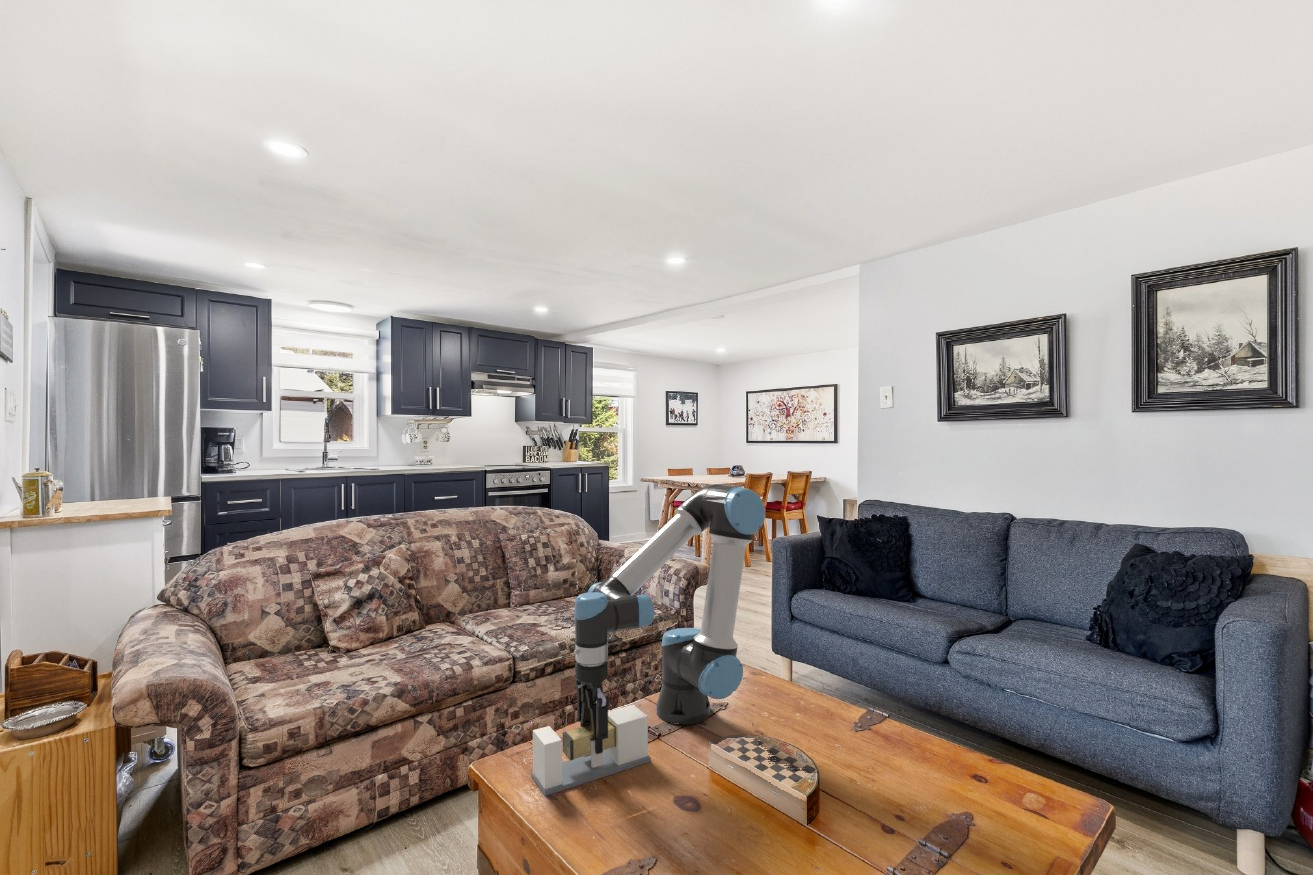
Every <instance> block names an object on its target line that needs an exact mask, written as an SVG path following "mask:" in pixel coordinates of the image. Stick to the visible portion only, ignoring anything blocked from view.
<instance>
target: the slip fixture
mask: <svg viewBox="0 0 1313 875" xmlns="http://www.w3.org/2000/svg"><path fill="white" fill-rule="evenodd" d="M648 717H649V716H648V715H647V714H645V713H644V712H643V711H642V710H641V709H639V708H638V707H637V706H636V705H634V704H632V705H631V704H630V705H627V706H624V707H620V708H616V709H612V710H608V720H609V721H610V722H611V723H612V724H613V725H614V726H615V727H616V747H613V748H609V749H606V750H603V765H600V766H597V767H594V768H592V767H591V756H587V757H584V758H583V757H579V758H576V759H574V760H571V761H570V760H569V759H568V760H566V761H563V739H561V737H560V736H559V735H558V734H557V733H556V732H555V731H554V730H553V728H552V727H551V726H550V725H547V726H544V727H540V728H536V729H533V730H532V771H530V772H531V773H530V777H531V778H532V779H533V781H534V783H535V784H536V786H537V787H538V788H539V790H540V792H541V793H542V794H543V795H544V797H546V796H549V795H554V794H556V793H559V792H561V791H565V790H568V789H571V788H573V787H577V786H580V785H584V784H586V783H589V782H592V781H595V780H598V779H601V778H604V777H609V776H610V775H615V774H617V773H621V772H624V771H626V770H630V769H632V768H635V767H637V766H641V765H645V764H648V763H650V762H652V757H651V756H650V754H649V739H648V738H649V726H648V725H649V724H648V723H649V718H648Z"/></svg>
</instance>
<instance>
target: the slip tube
mask: <svg viewBox="0 0 1313 875" xmlns="http://www.w3.org/2000/svg"><path fill="white" fill-rule="evenodd" d="M591 737H593V734H592V725H589V726H585V727H581V726H580V727H579V728H575V729H571V730H567V731H563V732H562V754H564V755H565V756H566V758H568V761H569V760H570V761H571V760H574V759H576V758H579V757H583V756H586V755H589V754H591V740H590V738H591ZM613 747H616V727H615V726H614V725H613V724H612V723H611V722H610V721H609V720H608V738H606V739H603V750H606V749H609V748H613Z"/></svg>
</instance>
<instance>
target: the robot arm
mask: <svg viewBox="0 0 1313 875" xmlns="http://www.w3.org/2000/svg"><path fill="white" fill-rule="evenodd" d="M674 512H675V513H674V516H672V518H671V519H670V520H668V522H666V523H665V525H663V526H662V527H661V528H660V529H659V530H658V531H657V532H656V533H655V534H654V535H652V537H651V538H650V539H649V540H648V541H647V542H645V543H644V544H643V545H642V546H641V547H640V548H639V549H638V550H637V551H636V552H635V553H634V554H633V555H632V556H631V557H630V558H628V559H627V560H626V562H625V563H624V564H623V565H622V566H620V568H618V569H617V570H616V571H615V572H614V573H613V574H612V575H611V576H610V577H609V578H608V579H606V580H605V581H604V582H602V581H601V582H596V583H594V584H592V585H591V586H590V587H589V589H588V591H587V592H584V593H581V594H579V595H578V596H577V597H576V598H575V601H574V602H575V603H574V613H573V615H574V616H573V617H574V634H575V635H574V637H575V641H574V642H575V649H574V651H573V654H574V655H575V661H576V662H575V664H574V666H575V686H576V711H577V712H576V713H577V714H576V715H577V716H576V718H577V719H576V720H577V722H578V723H579V722H580V728H581V727H585V726H589V725H592V734H593V737H591V738H590V740H591V754H589V755H586V756H583V758H584V757H587V756H591V767H592V768H594V767H597V766H600V765H603V739H606V738H608V711H609V704H610V698H609V695H606V696H605V695H604V687H603V682H604V681H605V680H606V679H607V678H608V675H609V664H608V661H607V660H608V659H609V658H608V657H609V655H608V654H609V649H608V648H609V643H608V640H609V639H608V638H609V637H608V635H609V634H611V633H612V634H613V633H616V632H623V631H627V630H632V629H641V628H642V627H647V626H649V625H651V624H652V623H653V621H654V619H655V606H654V603H653V601H652V599H651V597H650V596H649V595H648V594H636V593H637V591H638V590H640V588H642V587H643V585H645V584H646V583H647V582H648V581H649V579H650V578H652V577H653V575H655V574H656V573H657V572H658V571H659V570H660V569H661V568H662V567H663V566H664V565H665V564H666V563H667V562H668V561H669V560H670V559H671V558H672V557H674V555H676V553H677V552H678V551H679V550H681V549H682V547H683V546H684V545H685V544H687V543H688V542H689V540H690V539H692V538H693V536H700V535H701V534H702V533H703V532H704V531H705V530H706V529H708V528H709V531H708V532H709V533H708V535H709V536H710V538H711V540H712V542H713V544H712V550H711V558H710V564H709V572H708V578H707V584H706V592H705V599H704V607H703V612H702V619H701V626H700V628H696V627H681V628H679V627H678V628H674V629H670V630H667V631H666V632H664V633H663V635H662V640H661V656H662V657H661V663H662V664H661V665H662V667H661V668H662V670H661V671H662V673H661V674H662V685H661V689H660V692H659V696H658V699H657V702H656V716H657V717H658V719H660V720H662V721H663V722H666V723H668V722H672V723H679V724H683V725H682V726H688V725H689V726H690V725H696V724H699V723H702V722H704V721H706V720H707V719H708V718H710V716H711V703H710V698H711V699H714V700H724V699H726V698H728V697H730V696H731V695H733V693H734V692H735V691H737V690H738V688H739V687H740V685H741V683H742V680H743V677H744V668H743V664H742V663H741V661H740V659H739V658H738V657H737V654H738V643H737V642H736V640H735V638H734V634H735V633H734V632H735V625H736V620H737V619H736V618H737V610H738V604H739V603H738V602H739V596H740V590H741V583H742V575H743V569H744V561H745V553H746V549H747V548H746V547H747V546H748V545H750V543H752V542H753V540H754V538H753V537H754V534H755V533H757V532H758V531H759V530H760V529H761V528H762V527H763V525H764V522H765V518H766V508H765V505H764V502H763V501H762V499H761V496H759V494H758V493H757V492H755V491H754V490H751V488H745V487H743V486H734V485H733V486H730V485H724V484H709V485H707V486H704V487H703V488H700V489H699V490H697V491H696V492H694V493H693V494H691V495H690V497H688V498H687V499H686V500H684V502H682V503H681V504H680V505H679V506H678V507H677V508H676V509H675V511H674ZM634 594H636V595H634ZM672 723H671V724H672Z"/></svg>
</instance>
